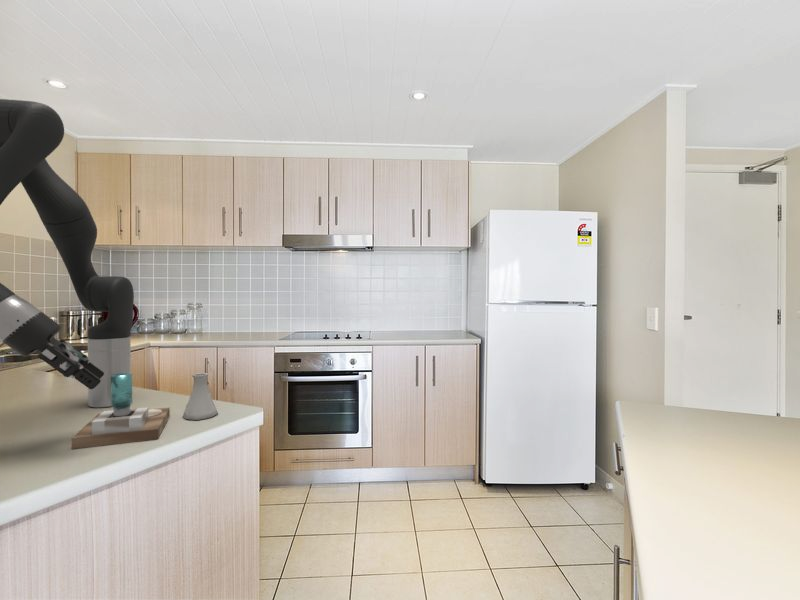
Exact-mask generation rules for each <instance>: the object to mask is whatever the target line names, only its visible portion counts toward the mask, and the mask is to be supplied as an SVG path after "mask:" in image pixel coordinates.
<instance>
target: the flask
mask: <svg viewBox="0 0 800 600" xmlns="http://www.w3.org/2000/svg"><path fill="white" fill-rule="evenodd" d="M191 376H192V378H193V385H192V386H193V387H192V391H191V393H190V396H189V399H188V401H187V404H186V406H185V409H184V411H183V414H182V418H184V419H185V420H192V421H195V420H196V421H199V420H200V421H201V420H206V419H210V418H213V417H215V416H217V415H218V414H219V412H218V409H217V408H216V405H215V403H214V400H213V398H212V396H211V395H212V394H211V393H210V391H209V390H210V389H209V386H208V377H209V373H208V372H198V373H194V374H192V375H191Z"/></svg>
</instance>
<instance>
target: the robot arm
mask: <svg viewBox="0 0 800 600" xmlns="http://www.w3.org/2000/svg"><path fill="white" fill-rule="evenodd" d="M64 136H65V125H64V123H63V120H62V118H61V116H60V115H59V114H58V112H57V111H56V110H55V109H54V108H52V107H50V106H49V105H47V104H44V103H42V102H37V101H31V100H20V99H5V98H0V206H1V205H2V204H3V203H4V201H5V200H6V199H7V197H8V196H9V195H10V194H11V193H12V192H13V190H15V188H16V187H17V186H18V185H19V184H21V185H22V187H23V188H24V191H25V193H26V194H27V196H28V197H29V199H30V202H32V204H33V206H34V208H35V210H36V212H37V214H38V216H39V219H40V220H41V222H42V224H43V226H44V228H45V230H46V232H47V234H48V235H49V237H50V239H51V240H52V242H53V244H54V246H55V248H56V250H57V251H58V254H59V255H60V258H61V259H62V261H63V264H64V266H65V269H66V270H67V272H68V276H69V278H70V281H71V283H72V285H73V288H74V291H75V294H76V296H77V298H78V301H79V302H80V303H81V305H82V306H83V308H85V309H86V310H87V311H90V312H99V313H100V312H102V313H103V312H104V313H105V312H107V317H106V319H105V320H104V321H102V322H101V323H98V324H95V325H92V326H90V327H89V328H88V329H87V354H84V353H82V352H81V351H80V350H78V349H77V348H75V346H72V344H71V343H69V342H68V341H67V340H66V339H63V338H61V339H58V338H56V335H57V334H58V333H59V332H61V330H62V328H63V327H62V326H61V325H60V324H59V323H58V322H56V321H55V320H54V319H52V318H51V317H50V316H48V315H47V314H45V313H44V312H43V311H42V310H40V309H39V308H37V307H36V306H35V305H34V304H32V303H31V302H29V301H28V300H27V299H24V298H23V297H21V296H19V295H17V294H16V293H15V292H13V290H12V289H9V287H7V286H6V285H4V284H3V283H1V282H0V342H1V343H3V344H5V345H6V346H7V347H9V348H10V349H12V350H13V351H14V352H16V353H18V354H19V355H21V357H25V358H27V357H29V356H31V355H33V354H34V353H36V352H37V351H39V354H37V357H38V358H39V359H40V360H42V361H43V362H45V363H46V364H48V365H49V366H50V367H51V368H53V369H54V370H56V371H57V372H59V373H60V374H62V376H64V378H65V377H66V378H72V379H75V380H77V382H79V383H80V384H82V385H84V387H86V388H87V400H88V401H87V406H88V407H90V408H108V407H112V406H111V375H113V374H119V373H132V371H131V366H132V365H131V364H132V363H131V361H132V360H131V357H132V354H131V350H132V349H131V330H132V327H133V321H134V320H133V317H134V300H135V299H134V298H135V295H134V291H135V290H134V287H133V285H132V281H131V280H130V279H129V278H127V277H125V276H109V275H108V276H106V275H105V276H104V275H103V276H100V275H98V274H97V272H96V270H95V268H94V265H93V263H92V254H93V250H94V248H95V244H96V242H97V237H98V228H97V224H96V222H95V220H94V218H93V216H92V215H93V214H92V213H91V211H90V209H89V207H88V205H87V203H86V201H84V199H83V197H81V195H80V194H78V192H77V191H76V190H74V188H73V187H72V186H70V185H69V184H68V183H67V182H66V181H64V179H62V177H61V176H59V174H57V172H55V170H54V169H53V168H52V167H51V165H50V164H49V162H48V160H47V159H46V158H48V156H50V155H51V154H52V153H53V152H55V150H56V149H57V148H58V147H59V146H60V145H61V143H62V142H63V140H64Z"/></svg>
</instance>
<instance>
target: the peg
mask: <svg viewBox="0 0 800 600" xmlns="http://www.w3.org/2000/svg"><path fill="white" fill-rule="evenodd" d="M132 404H133V373H132V372H131V373H119V374H113V375H111V406H110V407H113V409H112V410H113V418H114V417H124V416H130V409H131V405H132Z"/></svg>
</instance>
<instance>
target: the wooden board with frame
mask: <svg viewBox="0 0 800 600" xmlns="http://www.w3.org/2000/svg"><path fill="white" fill-rule="evenodd" d="M170 409H171V408H170V406H169V407H159V408H149V407H148V406H146V407H135V408H134V407H133V408H130V416H124V417H114V418H113V409H112V410H103V411H102V412H100V413H97V414H96V415H95V416H94V417H93V418H92V419H91V420H89V422H88V423H87V424H85V425H84V426H83V427H82V428H81V429H80V430H79V431H78V432H76V433H75V434H74V436H72V437H71V450H73V449H82V448H84V449H85V448H92V447H100V446H108V445H109V446H111V445H118V444H127V443H135V442H136V443H137V442H143V441H144V442H147V441H153V440H159V438H160V436H161V434H162V433H163V430H164V428H165V426H166V424H167V422H168V420H169V418H170V416H171V415H170V414H171V412H170V411H171V410H170Z"/></svg>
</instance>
